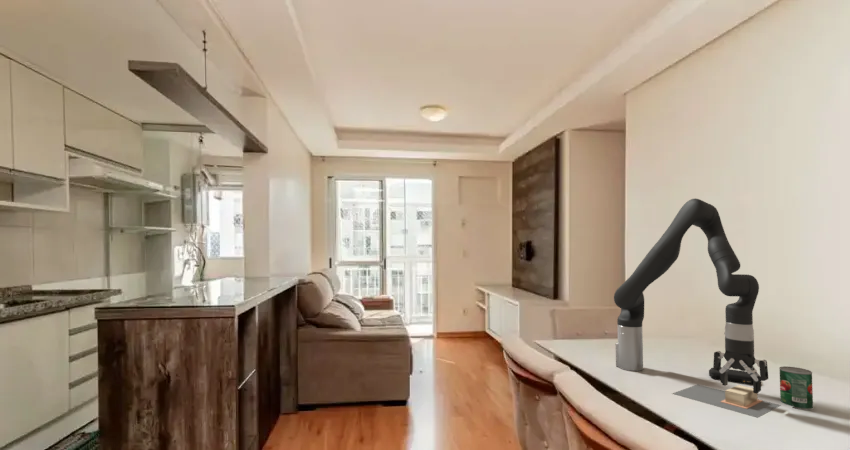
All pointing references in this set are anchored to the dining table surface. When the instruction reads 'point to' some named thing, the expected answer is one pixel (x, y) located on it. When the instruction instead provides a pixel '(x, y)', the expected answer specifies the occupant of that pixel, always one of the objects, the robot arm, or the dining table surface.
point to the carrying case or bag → (733, 376)
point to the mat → (718, 399)
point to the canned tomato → (796, 387)
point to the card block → (740, 395)
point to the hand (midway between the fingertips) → (740, 388)
